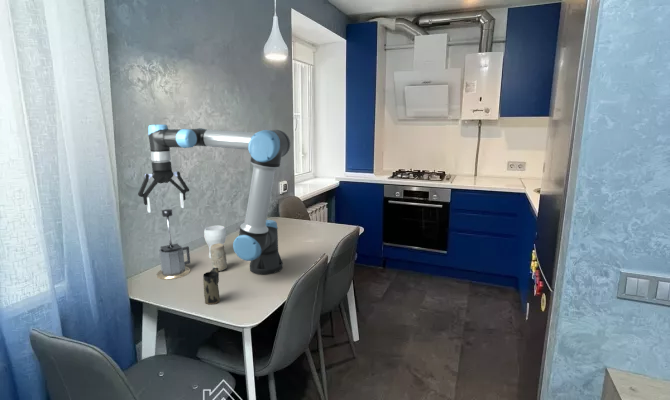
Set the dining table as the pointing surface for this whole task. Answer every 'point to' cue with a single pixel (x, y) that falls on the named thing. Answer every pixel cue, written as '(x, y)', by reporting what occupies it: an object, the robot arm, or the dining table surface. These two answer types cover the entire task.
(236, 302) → the dining table surface
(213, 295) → the mug
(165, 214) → the black knob on rod
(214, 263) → the carving
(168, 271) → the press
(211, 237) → the cup
